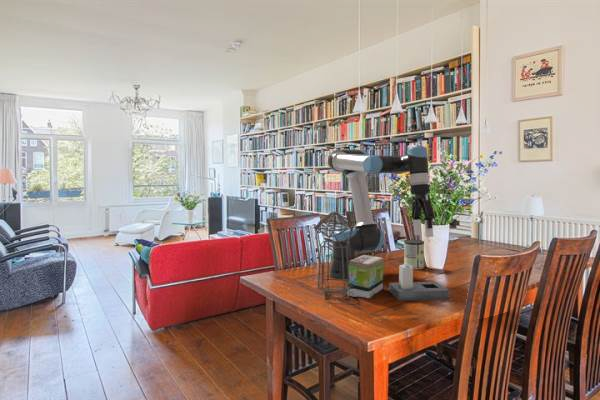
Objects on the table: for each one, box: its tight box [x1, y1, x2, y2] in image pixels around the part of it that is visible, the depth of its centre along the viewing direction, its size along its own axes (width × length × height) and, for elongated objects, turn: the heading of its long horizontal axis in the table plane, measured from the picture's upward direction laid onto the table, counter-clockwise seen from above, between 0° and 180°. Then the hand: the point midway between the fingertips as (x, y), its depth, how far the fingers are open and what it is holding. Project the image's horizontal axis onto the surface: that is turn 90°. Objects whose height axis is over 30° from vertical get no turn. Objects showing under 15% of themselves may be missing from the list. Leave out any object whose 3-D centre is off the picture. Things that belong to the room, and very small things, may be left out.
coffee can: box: [403, 238, 425, 270], centre depth 202 cm, size 10×10×14 cm
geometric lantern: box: [312, 211, 356, 299], centre depth 154 cm, size 16×16×35 cm
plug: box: [398, 263, 414, 289], centre depth 152 cm, size 4×4×13 cm
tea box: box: [346, 254, 385, 299], centre depth 158 cm, size 15×10×15 cm, turn 147°
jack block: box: [388, 281, 450, 302], centre depth 153 cm, size 20×12×4 cm, turn 94°
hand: (423, 236), depth 154 cm, fingers open, 13 cm apart
